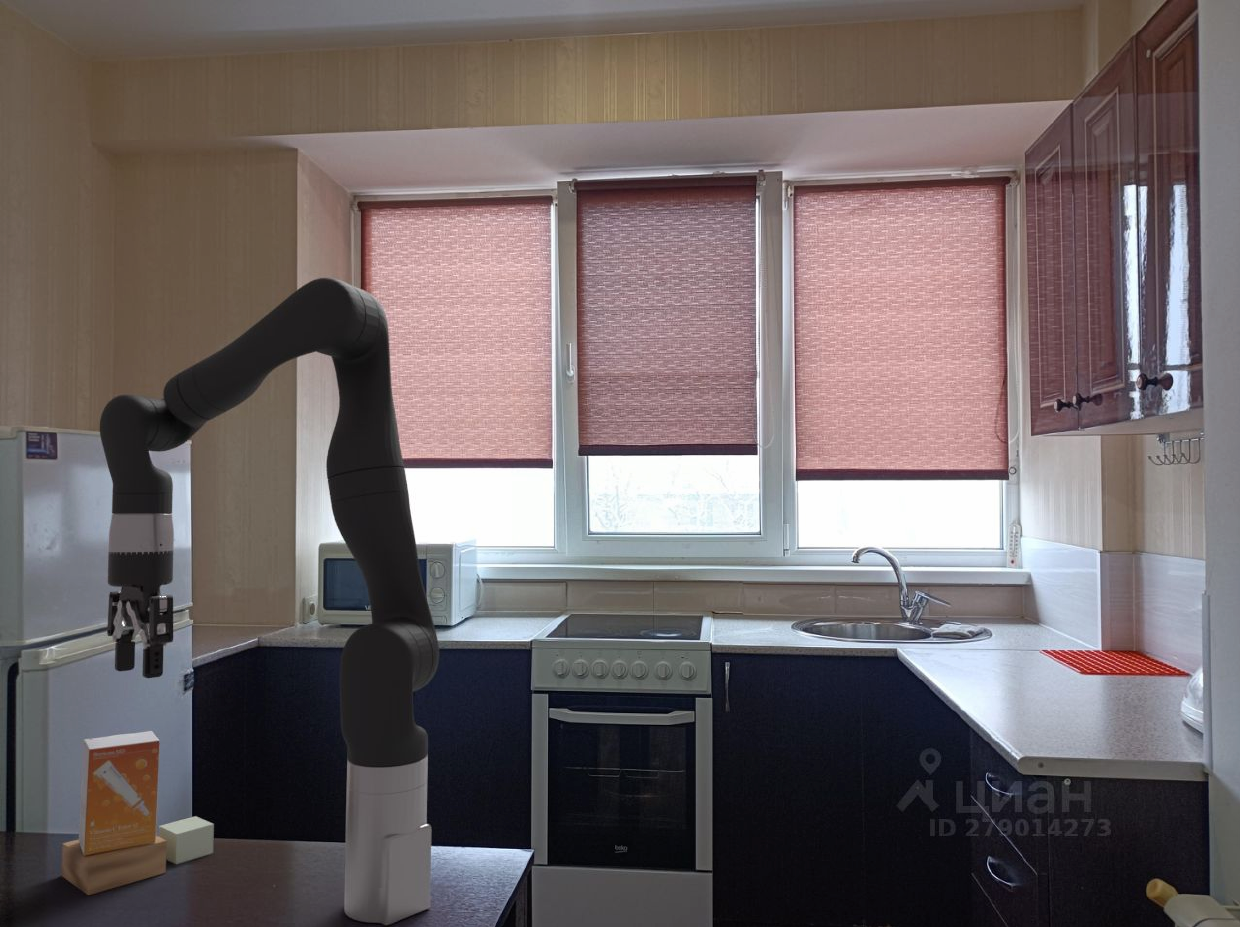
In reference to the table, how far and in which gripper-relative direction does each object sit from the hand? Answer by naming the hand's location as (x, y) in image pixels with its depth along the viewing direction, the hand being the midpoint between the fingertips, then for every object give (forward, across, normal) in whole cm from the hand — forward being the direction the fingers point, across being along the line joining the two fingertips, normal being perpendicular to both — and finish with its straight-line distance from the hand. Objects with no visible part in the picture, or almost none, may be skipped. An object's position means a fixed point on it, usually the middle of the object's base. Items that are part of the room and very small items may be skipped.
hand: (138, 673), depth 116 cm
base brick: (+25, +1, +2) cm, 25 cm away
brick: (+25, +1, -7) cm, 26 cm away
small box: (+21, 0, +2) cm, 21 cm away
